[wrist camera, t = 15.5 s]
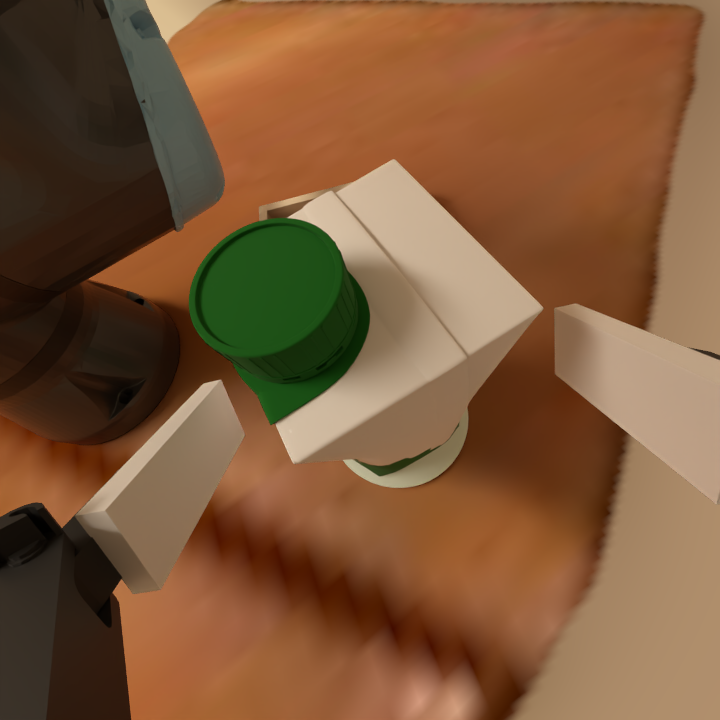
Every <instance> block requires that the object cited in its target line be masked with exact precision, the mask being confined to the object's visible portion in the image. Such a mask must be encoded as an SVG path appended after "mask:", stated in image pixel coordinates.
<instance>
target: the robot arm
mask: <svg viewBox="0 0 720 720" xmlns="http://www.w3.org/2000/svg"><path fill="white" fill-rule="evenodd" d="M224 186H225V180H224V173H223V169H222V166H221V163H220V161H219V158H218V155H217V153H216V150H215V148H214V145H213V143H212V141H211V138H210V136H209V134H208V131H207V129H206V127H205V124H204V122H203V120H202V117H201V115H200V113H199V111H198V108H197V106H196V104H195V102H194V100H193V98H192V95H191V93H190V91H189V89H188V87H187V85H186V82H185V80H184V78H183V76H182V74H181V72H180V70H179V68H178V66H177V63H176V61H175V59H174V57H173V55H172V53H171V51H170V49H169V47H168V45H167V43H166V42H165V40H164V39H163V38H162V36H161V34H160V30H159V28H158V26H157V24H156V22H155V20H154V18H153V16H152V14H151V12H150V10H149V8H148V6H147V3H146V1H145V0H0V415H2V416H4V417H6V418H8V419H9V420H11V421H13V422H15V423H17V424H19V425H21V426H22V427H24V428H26V429H28V430H30V431H32V432H34V433H35V434H37V435H39V436H41V437H43V438H46V439H50V440H53V441H57V442H64V443H71V444H79V445H93V444H99V443H103V442H106V441H109V440H112V439H114V438H117V437H119V436H121V435H123V434H124V433H126V432H128V431H129V430H131V429H132V428H134V427H135V426H136V425H138V424H139V423H140V422H141V421H143V420H144V419H145V418H146V417H147V416H148V415H149V414H150V413H151V412H152V411H153V410H154V408H155V407H156V406H157V405H158V403H159V402H160V401H161V399H162V398H163V396H164V395H165V393H166V392H167V390H168V388H169V386H170V384H171V382H172V380H173V377H174V375H175V372H176V369H177V365H178V360H179V352H180V344H179V336H178V332H177V329H176V326H175V324H174V322H173V320H172V319H171V318H170V316H169V315H168V314H167V313H166V312H165V311H164V310H162V309H161V308H160V307H158V306H157V305H155V304H154V303H152V302H151V301H150V300H148V299H146V298H145V297H143V296H141V295H139V294H136V293H133V292H130V291H126V290H123V289H120V288H116V287H113V286H109V285H106V284H103V283H99V282H96V281H92V280H89V278H90V277H92V276H94V275H96V274H97V273H99V272H101V271H103V270H104V269H106V268H108V267H110V266H111V265H113V264H115V263H117V262H118V261H120V260H122V259H124V258H125V257H127V256H129V255H131V254H132V253H134V252H136V251H138V250H140V249H141V248H143V247H145V246H147V245H148V244H150V243H152V242H154V241H155V240H157V239H159V238H161V237H162V236H164V235H166V234H168V233H169V232H171V231H173V230H175V231H176V232H179V231H181V230H182V229H183V228H184V224H185V223H187V222H188V221H190V220H191V219H193V218H195V217H196V216H198V215H199V214H201V213H202V212H204V211H206V210H207V209H209V208H210V207H212V206H213V205H215V204H216V203H217V202H218V201H219V200H220V198H221V196H222V194H223V191H224ZM554 326H555V375H557V376H558V377H559V378H560V379H562V380H563V381H564V382H565V383H567V384H568V385H569V386H570V387H571V388H573V389H574V390H575V391H576V392H578V393H579V394H580V395H581V396H583V397H584V398H585V399H586V400H588V401H589V402H590V403H591V404H593V405H594V406H595V407H596V408H597V409H599V410H600V411H601V412H602V413H604V414H605V415H606V416H607V417H609V418H610V419H611V420H612V421H614V422H615V423H616V424H617V425H619V426H620V427H621V428H622V429H623V430H625V431H626V432H627V433H628V434H630V435H631V436H632V437H633V438H635V439H636V440H637V441H638V442H640V443H641V444H642V445H643V446H645V447H646V448H647V449H648V450H650V451H651V452H652V453H653V454H655V455H656V456H657V457H658V458H659V459H661V460H662V461H663V462H664V463H666V464H667V465H668V466H669V467H671V468H672V469H673V470H674V471H676V472H677V473H678V474H679V475H680V476H682V477H683V478H684V479H685V480H687V481H688V482H689V483H690V484H692V485H693V486H694V487H695V488H697V489H698V490H699V491H700V492H702V493H703V494H704V495H705V496H707V497H708V498H709V499H710V500H711V501H713V502H714V503H715V504H720V355H717V354H715V353H712V352H708V351H703V350H698V349H693V348H688V347H685V346H682V345H680V344H677V343H675V342H672V341H670V340H667V339H665V338H662V337H659V336H657V335H654V334H652V333H649V332H647V331H644V330H642V329H639V328H637V327H634V326H632V325H629V324H627V323H624V322H622V321H619V320H616V319H614V318H611V317H609V316H606V315H604V314H601V313H599V312H596V311H594V310H591V309H589V308H586V307H584V306H581V305H579V304H576V303H575V304H571V305H566V306H561V307H557V308H554ZM244 436H245V433H244V431H243V429H242V426H241V424H240V422H239V420H238V417H237V415H236V413H235V410H234V408H233V406H232V404H231V401H230V399H229V397H228V394H227V392H226V390H225V387H224V385H223V383H222V381H221V380H217V381H212V382H208V383H203V384H202V385H201V387H200V388H199V389H198V390H197V391H196V392H195V393H194V394H193V395H192V396H191V397H190V398H189V399H188V400H187V401H186V402H185V403H184V404H183V405H182V406H181V407H180V408H179V409H178V410H177V411H176V412H175V413H174V414H173V415H172V416H171V417H170V418H169V419H168V420H167V421H166V422H165V423H164V425H163V426H162V427H161V428H160V429H159V430H158V431H157V432H156V433H155V434H154V435H153V436H152V437H151V438H150V439H149V440H148V441H147V442H146V443H145V444H144V445H143V446H142V447H141V448H140V449H139V450H138V451H137V452H136V453H135V454H134V455H133V456H132V457H131V458H130V459H129V460H128V462H127V463H126V464H125V465H124V466H123V467H121V468H120V469H119V470H118V471H117V472H116V473H115V474H114V475H113V476H112V478H111V479H110V480H109V481H108V482H107V483H106V484H105V485H104V486H103V487H102V488H101V489H100V490H99V491H98V492H97V493H96V494H95V495H94V496H93V497H92V498H91V499H90V500H89V501H88V502H87V503H86V504H85V505H84V506H83V507H82V508H81V509H80V510H79V511H78V512H77V513H76V514H75V515H74V517H73V518H72V519H71V520H70V521H69V522H68V523H67V524H66V525H65V526H64V527H63V528H61V527H60V526H59V524H58V523H57V522H56V520H55V519H54V518H53V517H52V515H51V514H50V513H49V512H48V510H47V509H46V508H45V506H44V505H43V504H42V503H31V504H28V505H24V506H22V507H19V508H17V509H15V510H12V511H10V512H9V513H7V514H5V515H3V516H1V517H0V720H131V714H130V704H129V694H128V685H127V675H126V665H125V656H124V646H123V636H122V626H121V617H120V607H119V602H118V600H117V598H116V597H115V596H114V594H113V593H112V592H113V591H114V589H115V588H116V586H117V585H118V583H119V582H120V580H121V579H122V580H123V581H124V583H125V584H126V585H127V587H128V588H129V589H130V591H131V592H132V593H133V594H137V593H144V592H150V591H157V590H161V588H162V586H163V585H164V583H165V581H166V579H167V577H168V575H169V574H170V572H171V570H172V568H173V566H174V564H175V563H176V561H177V559H178V557H179V555H180V553H181V552H182V550H183V548H184V546H185V544H186V542H187V541H188V539H189V537H190V535H191V533H192V532H193V530H194V528H195V526H196V524H197V522H198V521H199V519H200V517H201V515H202V513H203V511H204V510H205V508H206V506H207V504H208V502H209V500H210V499H211V497H212V495H213V493H214V491H215V489H216V488H217V486H218V484H219V482H220V480H221V478H222V477H223V475H224V473H225V471H226V469H227V468H228V466H229V464H230V462H231V460H232V458H233V457H234V455H235V453H236V451H237V449H238V447H239V446H240V444H241V442H242V440H243V438H244Z"/></svg>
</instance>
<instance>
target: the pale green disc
mask: <svg viewBox="0 0 720 720" xmlns="http://www.w3.org/2000/svg"><path fill="white" fill-rule="evenodd" d="M467 430H468V408H466V410H465V412H464V414H463V416H462V417H461V419H460V421H459V427H458V428H457V429H456V431H455V432H454V433H453V435H452V436H451V437H450V439H449V440H448V441H447V442H445V443H444V444H443V445H442V446H440V447H439V448H437V449H436V450H434V451H432V452H431V453H429V454H427V455H426V456H424V457H422V458H421V459H419V460H417V461H416V462H414V463H412V464H410V465H408V466H407V467H405V468H403V469H401V470H399V471H397V472H394V473H391V474H387V475H384V476H380V477H379V476H378V475H376V474H375V473H373V472H371V471H370V470H368V469H367V468H365V467H364V466H362V465H360V464H359V463H357V462H356V461H354V460H353V459H350V460H343V461H344V463H345V464H346V465H347V466H348V467H349V468H350V469H351V470H352V471H353V472H355V473H356V474H357V475H359V476H360V477H362V478H363V479H365V480H367V481H369V482H372V483H374V484H377V485H380V486H385V487H391V488H406V487H413V486H417V485H421V484H423V483H426V482H428V481H430V480H432V479H434V478H436V477H437V476H439V475H440V474H441V473H443V472H444V471H445V470H446V469H447V468H448V467H449V466H450V465H451V464H452V463H453V461H454V460H455V459H456V457H457V456H458V454H459V452H460V451H461V449H462V447H463V444H464V441H465V439H466V435H467Z"/></svg>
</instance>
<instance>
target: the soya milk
mask: <svg viewBox="0 0 720 720" xmlns="http://www.w3.org/2000/svg"><path fill="white" fill-rule="evenodd" d="M542 310H543V307H542V306H541V305H540V303H539V302H538V301H537V300H536V299H535V298H534V297H533V296H532V295H531V294H530V293H529V292H528V291H527V290H526V289H525V288H524V287H523V286H522V285H521V284H520V283H519V282H518V281H517V280H516V279H515V278H514V277H513V276H511V275H510V274H509V273H508V272H507V271H506V270H505V269H504V268H503V267H502V266H501V265H500V264H499V263H498V262H497V261H496V260H495V259H494V258H493V257H492V256H491V255H490V254H489V253H488V252H487V251H486V250H485V249H484V248H483V247H482V246H481V245H480V244H479V243H478V242H477V241H476V240H475V239H474V238H473V237H472V236H471V235H470V234H469V233H468V232H467V231H466V230H465V229H464V228H463V227H462V226H461V225H460V224H459V223H458V222H457V221H456V220H455V219H454V218H453V217H452V216H451V215H450V214H449V213H448V212H447V211H446V210H445V209H444V208H443V207H442V206H441V205H440V204H439V203H438V202H437V201H436V200H435V199H434V198H433V197H432V196H431V195H430V194H429V193H428V192H427V191H426V190H425V189H424V188H423V187H422V186H421V185H420V184H419V183H418V182H417V181H416V180H415V179H414V178H413V177H412V176H411V175H410V174H409V173H408V172H407V171H406V170H405V169H404V168H403V167H402V166H401V165H400V164H399V163H398V162H397V161H396V160H395V159H393V160H391V161H389V162H387V163H386V164H384V165H382V166H380V167H379V168H377V169H375V170H374V171H372V172H370V173H368V174H367V175H365V176H363V177H362V178H360V179H358V180H357V181H355V182H353V183H351V184H350V185H348V186H346V187H345V188H343V189H341V190H339V191H338V192H336V193H334V192H333V191H329V192H326V193H325V194H323V195H321V196H319V197H317V198H316V199H314V200H312V201H311V202H309V203H307V204H306V205H305V206H304V207H303V208H302V209H301V210H299V211H298V212H296V213H294V214H292V215H291V216H289V217H287V218H273V219H266V220H262V221H258V222H255V223H252V224H249V225H247V226H245V227H242V228H240V229H238V230H237V231H235V232H233V233H232V234H230V235H229V236H227V237H226V238H224V239H223V240H222V241H221V242H220V243H218V244H217V245H216V246H215V247H214V248H213V249H212V250H211V251H210V252H209V254H208V255H207V256H206V257H205V259H204V260H203V261H202V263H201V265H200V266H199V268H198V270H197V272H196V274H195V276H194V279H193V282H192V285H191V289H190V294H189V311H190V316H191V320H192V323H193V325H194V327H195V329H196V331H197V332H198V334H199V335H200V336H201V338H202V339H203V340H204V341H205V343H206V344H207V345H209V346H210V347H212V348H213V349H214V350H215V351H217V352H218V353H219V354H221V355H222V356H224V357H225V358H226V359H228V360H229V361H231V362H232V363H233V365H234V367H235V369H236V370H237V372H238V374H239V375H240V377H241V378H242V379H243V381H244V382H245V383H246V384H247V385H248V386H249V387H250V388H251V389H252V390H253V391H254V392H255V393H256V394H257V396H258V398H259V400H260V403H261V405H262V407H263V410H264V412H265V414H266V416H267V418H268V420H269V423H270V425H272V424H274V423H275V425H276V427H277V429H278V431H279V434H280V436H281V438H282V440H283V443H284V445H285V447H286V449H287V451H288V454H289V456H290V458H291V460H292V462H293V463H294V464H302V463H315V462H326V461H338V460H350V459H353V460H354V461H356V462H357V463H359V464H360V465H362V466H364V467H365V468H367V469H368V470H370V471H371V472H373V473H375V474H376V475H378V476H379V477H380V476H384V475H387V474H391V473H394V472H397V471H399V470H401V469H403V468H405V467H407V466H408V465H410V464H412V463H414V462H416V461H417V460H419V459H421V458H422V457H424V456H426V455H427V454H429V453H431V452H432V451H434V450H436V449H437V448H439V447H440V446H442V445H443V444H444V443H445V442H447V441H448V440H449V439H450V437H451V436H452V435H453V433H454V432H455V431H456V429H457V428H458V427H459V421H460V419H461V417H462V416H463V414H464V412H465V410H466V408H467V406H468V404H469V402H470V401H471V399H472V398H473V396H474V395H475V394H476V392H477V391H478V390H479V388H480V387H481V386H482V385H483V383H484V382H485V381H486V380H487V378H488V377H489V376H490V374H491V373H492V372H493V371H494V369H495V368H496V367H497V366H498V364H499V363H500V362H501V361H502V359H503V358H504V357H505V355H506V354H507V353H508V352H509V350H510V349H511V348H512V347H513V345H514V344H515V343H516V342H517V340H518V339H519V338H520V337H521V335H522V334H523V333H524V331H525V330H526V329H527V328H528V326H529V325H530V324H531V323H532V322H533V320H534V319H535V318H536V317H537V316H538V315H539V314H540V313H541V311H542Z"/></svg>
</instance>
